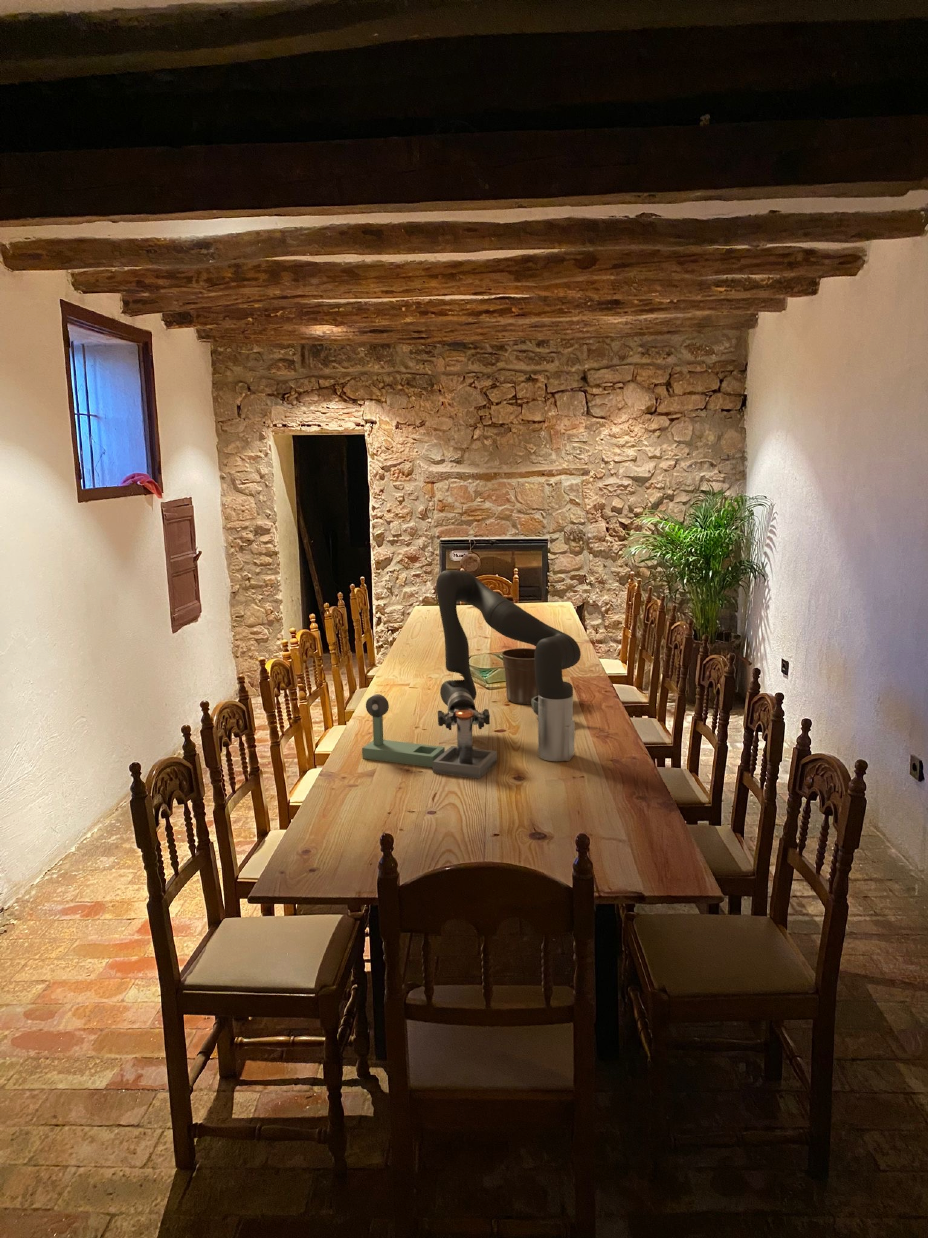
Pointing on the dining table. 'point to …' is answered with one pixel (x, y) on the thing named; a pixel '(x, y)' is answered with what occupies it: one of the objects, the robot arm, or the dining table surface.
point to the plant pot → (520, 675)
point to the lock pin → (464, 736)
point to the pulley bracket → (395, 749)
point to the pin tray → (450, 765)
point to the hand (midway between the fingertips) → (465, 726)
